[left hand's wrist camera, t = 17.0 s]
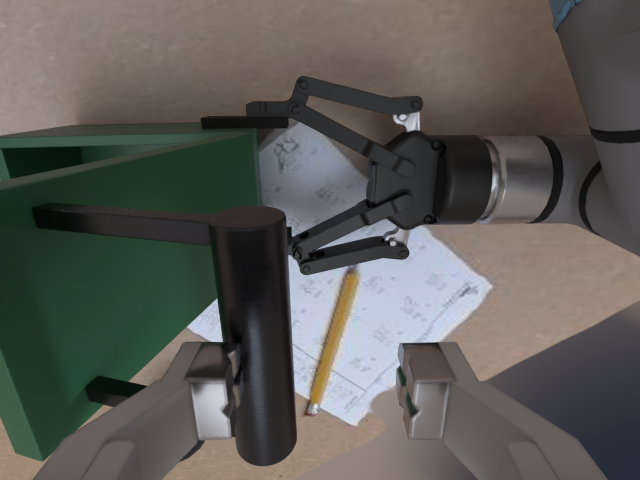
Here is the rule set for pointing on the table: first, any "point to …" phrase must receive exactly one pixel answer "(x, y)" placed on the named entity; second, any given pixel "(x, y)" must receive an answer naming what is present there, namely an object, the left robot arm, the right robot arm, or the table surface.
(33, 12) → the table surface
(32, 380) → the lid
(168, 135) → the chest
